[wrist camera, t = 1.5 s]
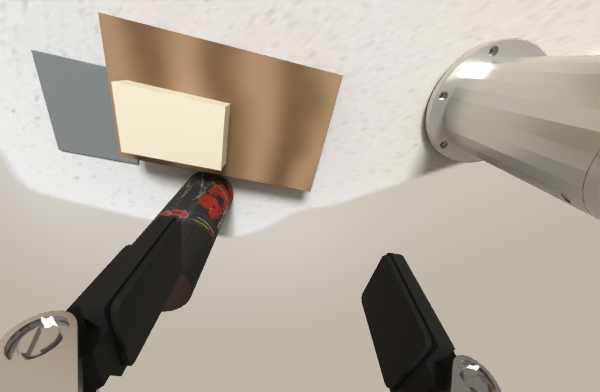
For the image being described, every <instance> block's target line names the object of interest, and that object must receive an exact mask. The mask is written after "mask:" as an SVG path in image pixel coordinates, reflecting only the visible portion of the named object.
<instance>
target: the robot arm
mask: <svg viewBox="0 0 600 392" xmlns="http://www.w3.org/2000/svg"><path fill="white" fill-rule="evenodd" d="M440 94H441V96H440ZM439 96H440V97H439ZM426 131H427V135H428V138H429V140H430V142H431V144H432V146H433V147H434V148H435V149H436V150H437V151H438V152H439V153H441V154H442V155H444V156H445V157H447V158H449V159H451V160H454V161H458V162H477V161H483V160H484V161H486V162H488V163H490V164H492V165H494V166H496V167H498V168H500V169H502V170H503V171H505V172H507V173H509V174H511V175H513V176H515V177H517V178H519V179H521V180H523V181H525V182H527V183H529V184H531V185H533V186H535V187H537V188H539V189H541V190H543V191H544V192H547V193H549V194H550V195H552V196H554V197H556V198H558V199H560V200H562V201H564V202H566V203H568V204H570V205H572V206H574V207H576V208H578V209H579V210H581V211H583V212H585V213H587V214H589V215H591V216H593V217H595V218H597V219H600V55H584V56H547V55H546V53H545V52H544V51H543V50H542V49H541V48H540V47H539V46H538V45H536V44H534V43H532V42H530V41H528V40H523V39H517V38H514V39H502V40H496V41H491V42H488V43H486V44H483V45H480V46H478V47H476V48H475V49H473V50H471V51H469V52H468V53H466V54H465V55H464V56H462V57H461V58H460V59H459V60H457V61H456V62H455V63H454V64H453V65H452V66H451V67H450V68H449V69H448V70H447V71H446V72H445V74H444V75H443V77H442V78H441V79H440V81H439V82H438V84H437V85H436V87H435V89H434V91H433V93H432V95H431V98H430V101H429V104H428V107H427V112H426ZM181 271H182V244H181V222H180V221H177V218H176V217H172V216H166V215H159V216H158V217H157V218H156V219H155V220H154V221H153V223H152V224H151V225H150V226H149V227H148V228H147V229H146V231H145V232H144V233H143V234H142V235H141V236H140V237H139V239H138V240H137V241H136V242H135V243H134V244H133V245H127V246H125V247H124V248H123V249H122V250H121V251H120V252H119V254H118V255H117V256H116V257H115V258H114V259H113V260H112V261H111V262H110V263H109V264H108V265H107V267H106V268H105V269H104V270H103V271H102V272H101V273H100V274H99V275H98V277H97V278H96V279H95V280H94V281H93V282H92V283H91V284H90V285H89V286H88V287H87V288H86V290H85V291H84V292H83V293H82V294H81V295H80V296H79V297H78V298H77V300H76V301H75V302H74V303H73V304H72V305H71V306H70V307H69V308H68V309H67V310H66V311H50V312H45V313H41V314H38V315H36V316H33V317H31V318H28V319H27V320H25V321H23V322H21V323H20V324H18V325H16V326H15V327H14V328H13V329H11V330H10V331H9V332H7V333H6V334H5V336H4V337H3V338H2V339H1V340H0V392H99V388H100V387H102V386H104V384H105V383H106V381H107V379H108V377H109V376H110V375H114V376H122V374H123V372H124V370H125V368H126V367H127V366H131V365H132V364H133V363H134V362H135V360H136V359H137V357H138V355H139V353H140V351H141V349H142V347H143V345H144V344H145V342H146V339H147V338H148V336H149V334H150V332H151V330H152V328H153V327H154V325H155V323H156V321H157V319H158V317H159V315H160V313H161V311H162V310H163V308H164V306H165V304H166V302H167V300H168V298H169V296H170V294H171V293H172V291H173V289H174V287H175V285H176V283H177V281H178V279H179V277H180V275H181ZM362 305H363V308H364V312H365V315H366V318H367V322H368V326H369V329H370V333H371V336H372V340H373V343H374V347H375V351H376V354H377V358H378V361H379V365H380V368H381V372H382V375H383V379H384V382H385V385H386V386H387V387H388V388H389V389H390V392H501V390H500V387H499V386H498V384H497V382H496V380H495V379H494V377H493V376H492V375H491V374H490V372H489V371H488V370H487V369H486V368H485V367H484V366H482V365H481V364H480V363H479V362H477V361H476V360H474V359H472V358H471V357H468V356H464V355H458V356H456V355H455V353H454V350H455V348H454V346H453V344H452V342H451V341H450V339H449V337H448V335H447V333H446V332H445V330H444V328H443V326H442V325H441V323H440V321H439V319H438V318H437V316H436V314H435V312H434V310H433V309H432V307H431V305H430V303H429V301H428V300H427V298H426V296H425V294H424V293H423V291H422V289H421V287H420V285H419V284H418V282H417V280H416V278H415V277H414V275H413V273H412V271H411V269H410V268H409V266H408V264H407V262H406V261H405V259H404V257H403V256H402V255H399V254H393V253H387V254H386V255H384V256H383V257H382V259H381V260H380V262H379V264H378V266H377V268H376V270H375V271H374V273H373V275H372V277H371V279H370V281H369V283H368V285H367V286H366V288H365V290H364V292H363V294H362Z"/></svg>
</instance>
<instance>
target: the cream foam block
mask: <svg viewBox="0 0 600 392" xmlns="http://www.w3.org/2000/svg"><path fill="white" fill-rule="evenodd" d="M111 84H112V91H113V98H114V105H115V112H116V119H117V125H118V132H119V139H120V146H121V152H124V153H130V154H135V155H140V156H146V157H151V158H156V159H162V160H167V161H172V162H178V163H183V164H188V165H193V166H199V167H204V168H209V169H215V170H220V171H221V170H222V168H223V167H224V165H225V163H226V154H227V141H228V129H229V116H230V103H226V102H221V101H217V100H212V99H208V98H204V97H199V96H195V95H190V94H186V93H182V92H177V91H173V90H168V89H164V88H160V87H155V86H151V85H146V84H142V83H138V82H133V81H129V80H121V81H112V82H111Z"/></svg>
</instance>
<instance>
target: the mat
mask: <svg viewBox="0 0 600 392" xmlns="http://www.w3.org/2000/svg"><path fill="white" fill-rule="evenodd" d="M31 51H32V50H31ZM32 54H33V58H34V62H35V65H36V69H37V72H38V76H39V80H40V83H41V87H42V91H43V94H44V98H45V101H46V105H47V109H48V112H49V116H50V120H51V123H52V127H53V130H54V134H55V138H56V141H57V145H58V149H59V150H63V151H68V152H74V153H79V154H85V155H90V156H96V157H101V158H107V159H112V160H118V161H123V162H128V163H134V164H139V160H137V159H132V158H126V157H121V156H120V155H119V148H118V141H117V135H116V128H115V121H114V115H113V108H112V101H111V94H110V88H109V81H108V74H107V68H106V67H103V66H99V65H95V64H90V63H86V62H82V61H77V60H73V59H69V58H64V57H60V56H56V55H51V54H47V53H43V52H38V51H32Z"/></svg>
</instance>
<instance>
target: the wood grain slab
mask: <svg viewBox="0 0 600 392" xmlns="http://www.w3.org/2000/svg"><path fill="white" fill-rule="evenodd" d="M98 14H99V21H100V28H101V34H102V41H103V48H104V54H105V61H106V68H107V74H108V81H109V88H110V94H111V101H112V108H113V115H114V121H115V128H116V135H117V141H118V148H119V155H120V156H121V157H126V158H132V159H137V160H142V161H148V162H153V163H159V164H164V165H169V166H175V167H180V168H185V169H191V170H196V171H202V172H207V173H212V174H218V175H223V176H228V177H234V178H239V179H245V180H250V181H255V182H261V183H266V184H271V185H277V186H282V187H288V188H293V189H298V190H304V191H309V192H310V191H311V187H312V184H313V180H314V177H315V173H316V170H317V166H318V162H319V159H320V155H321V152H322V148H323V145H324V141H325V137H326V134H327V130H328V127H329V123H330V120H331V116H332V113H333V109H334V105H335V102H336V98H337V95H338V91H339V88H340V84H341V80H342V77H343V76H342V75H338V74H334V73H331V72H327V71H323V70H319V69H315V68H311V67H307V66H304V65H300V64H296V63H292V62H288V61H284V60H280V59H277V58H273V57H269V56H265V55H261V54H257V53H253V52H250V51H246V50H242V49H238V48H234V47H230V46H226V45H222V44H219V43H215V42H211V41H207V40H203V39H199V38H195V37H192V36H188V35H184V34H180V33H176V32H172V31H168V30H165V29H161V28H157V27H153V26H149V25H145V24H141V23H137V22H134V21H130V20H126V19H122V18H118V17H114V16H110V15H106V14H102V13H98ZM121 80H129V81H133V82H138V83H142V84H146V85H151V86H155V87H160V88H164V89H168V90H173V91H177V92H182V93H186V94H190V95H195V96H199V97H204V98H208V99H212V100H217V101H221V102H226V103H230V116H229V129H228V141H227V154H226V163H225V165H224V167H223V168H222V170H221V171H220V170H215V169H209V168H204V167H199V166H193V165H188V164H183V163H178V162H172V161H167V160H162V159H156V158H151V157H146V156H140V155H135V154H130V153H124V152H121V146H120V139H119V132H118V125H117V119H116V112H115V105H114V98H113V91H112V84H111V82H112V81H121Z"/></svg>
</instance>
